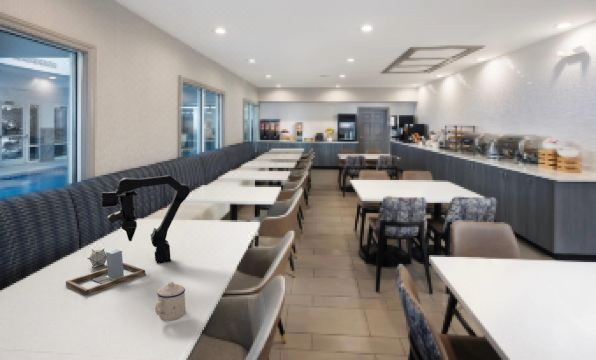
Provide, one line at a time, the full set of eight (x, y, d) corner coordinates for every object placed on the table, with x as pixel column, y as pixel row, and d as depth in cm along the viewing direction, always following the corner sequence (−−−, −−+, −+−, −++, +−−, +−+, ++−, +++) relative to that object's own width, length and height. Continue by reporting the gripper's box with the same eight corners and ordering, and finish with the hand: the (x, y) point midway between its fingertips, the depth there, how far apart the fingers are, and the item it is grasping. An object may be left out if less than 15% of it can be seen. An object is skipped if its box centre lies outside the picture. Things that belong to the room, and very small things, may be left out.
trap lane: (124, 266, 181) (124, 262, 181) (145, 274, 172) (145, 270, 172) (66, 285, 161) (65, 281, 160) (86, 295, 151) (85, 290, 151)
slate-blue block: (118, 273, 173) (116, 249, 171) (123, 275, 170) (121, 251, 168) (108, 276, 169) (106, 251, 167) (113, 278, 166) (111, 253, 165)
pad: (118, 272, 174) (117, 272, 174) (127, 276, 170) (127, 275, 170) (104, 277, 169) (104, 276, 169) (113, 281, 165) (113, 280, 165)
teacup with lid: (171, 306, 141) (169, 275, 140) (191, 311, 138) (190, 279, 136) (146, 322, 131) (144, 288, 129) (167, 327, 127) (165, 293, 125)
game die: (101, 274, 182) (97, 262, 175) (85, 267, 183) (81, 255, 176) (114, 260, 188) (111, 248, 181) (99, 253, 189) (95, 240, 183)
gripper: (108, 203, 184) (110, 235, 186) (107, 211, 167) (110, 246, 170) (133, 201, 189) (136, 232, 191) (135, 208, 172) (138, 243, 174)
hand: (129, 238), depth 181 cm, fingers open, 9 cm apart
